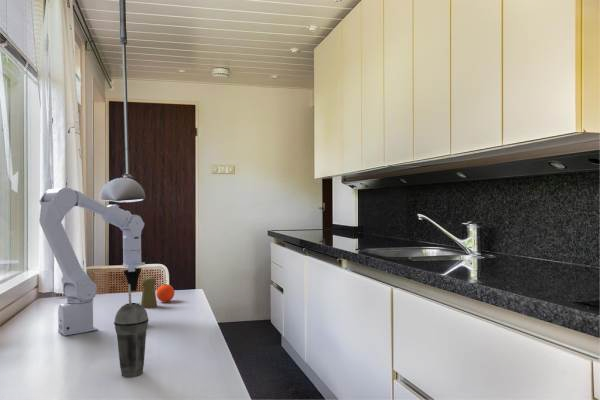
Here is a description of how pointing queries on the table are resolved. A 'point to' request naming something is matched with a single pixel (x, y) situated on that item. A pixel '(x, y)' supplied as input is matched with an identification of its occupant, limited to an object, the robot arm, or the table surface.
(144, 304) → the cork
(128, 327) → the beverage cup
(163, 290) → the clementine
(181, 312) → the table surface
